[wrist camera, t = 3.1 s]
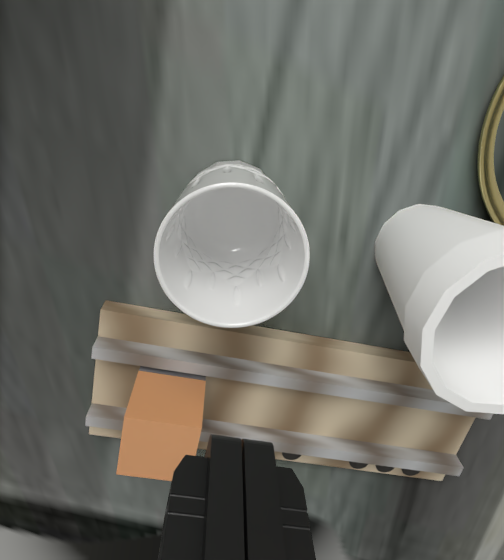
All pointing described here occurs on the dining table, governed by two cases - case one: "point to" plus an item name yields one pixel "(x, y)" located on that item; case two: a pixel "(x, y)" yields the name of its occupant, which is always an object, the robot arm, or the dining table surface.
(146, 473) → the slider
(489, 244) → the foam cup
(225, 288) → the white cup
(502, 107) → the gold oval ring
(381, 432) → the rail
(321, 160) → the dining table surface
